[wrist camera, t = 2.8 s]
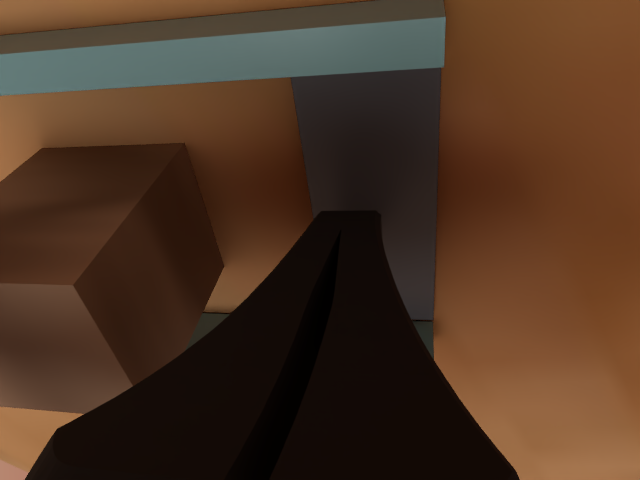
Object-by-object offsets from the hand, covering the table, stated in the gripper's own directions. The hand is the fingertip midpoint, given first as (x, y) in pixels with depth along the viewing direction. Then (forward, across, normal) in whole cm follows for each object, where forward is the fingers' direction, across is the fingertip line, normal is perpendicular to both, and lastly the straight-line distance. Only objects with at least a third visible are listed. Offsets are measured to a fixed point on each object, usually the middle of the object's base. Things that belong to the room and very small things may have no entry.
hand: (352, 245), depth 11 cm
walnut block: (+2, +6, 0) cm, 6 cm away
